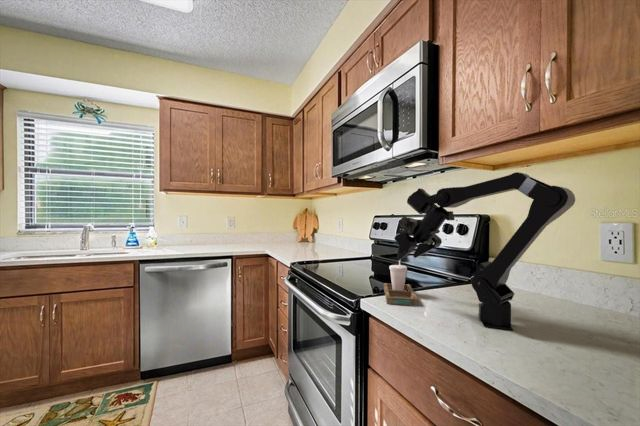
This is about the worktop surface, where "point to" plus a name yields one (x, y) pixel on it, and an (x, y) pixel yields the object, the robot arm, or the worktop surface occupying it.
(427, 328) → the worktop surface
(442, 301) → the worktop surface
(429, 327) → the worktop surface
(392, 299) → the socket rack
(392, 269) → the smoothie
